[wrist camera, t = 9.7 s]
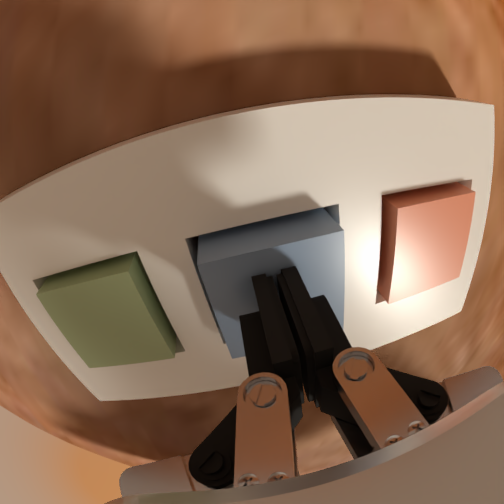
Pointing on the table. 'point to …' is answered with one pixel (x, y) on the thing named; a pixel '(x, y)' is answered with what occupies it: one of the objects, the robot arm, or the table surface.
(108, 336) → the olive green button
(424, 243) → the terracotta button
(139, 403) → the table surface
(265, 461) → the robot arm
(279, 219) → the slate blue button
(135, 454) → the table surface
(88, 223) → the button board
